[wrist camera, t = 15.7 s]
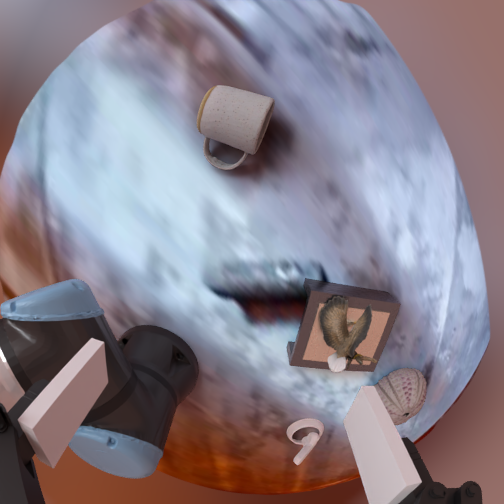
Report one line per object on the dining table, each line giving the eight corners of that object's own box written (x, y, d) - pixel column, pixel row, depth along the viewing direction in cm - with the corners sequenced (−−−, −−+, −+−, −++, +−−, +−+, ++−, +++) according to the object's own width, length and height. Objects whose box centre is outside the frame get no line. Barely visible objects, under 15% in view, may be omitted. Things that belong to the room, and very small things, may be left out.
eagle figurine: (382, 341, 37) (378, 292, 33) (372, 380, 31) (368, 333, 28) (334, 339, 41) (323, 292, 37) (318, 375, 36) (304, 329, 32)
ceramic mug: (218, 91, 35) (210, 73, 28) (274, 108, 36) (278, 92, 28) (193, 160, 38) (178, 156, 30) (249, 178, 38) (247, 177, 31)
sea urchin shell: (426, 356, 45) (446, 379, 37) (411, 405, 48) (425, 429, 40) (366, 369, 45) (381, 396, 37) (356, 418, 48) (366, 445, 41)
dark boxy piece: (363, 355, 44) (374, 372, 39) (286, 347, 44) (290, 366, 39) (387, 291, 42) (401, 304, 36) (305, 278, 41) (311, 291, 36)
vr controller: (275, 428, 42) (311, 445, 39) (301, 406, 52) (331, 419, 49) (263, 457, 42) (296, 473, 39) (290, 433, 52) (318, 445, 49)
